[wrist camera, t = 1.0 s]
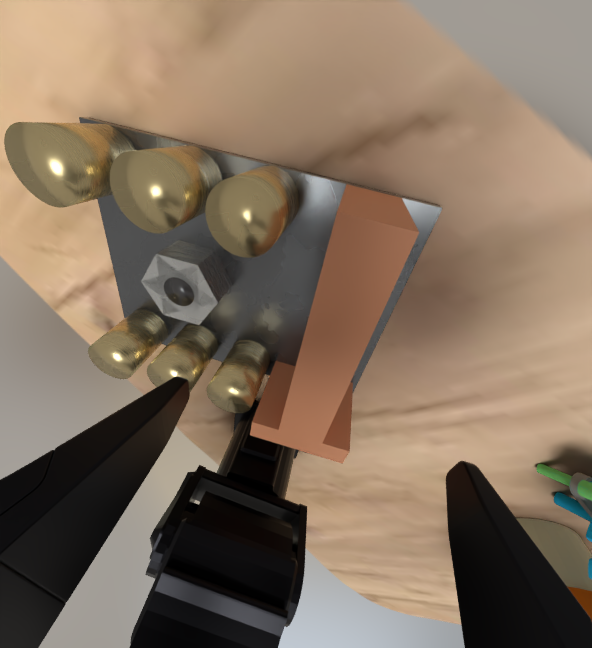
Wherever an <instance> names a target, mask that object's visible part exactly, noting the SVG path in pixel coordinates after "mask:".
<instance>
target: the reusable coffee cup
mask: <svg viewBox="0 0 592 648" xmlns="http://www.w3.org/2000/svg"><path fill="white" fill-rule="evenodd" d="M516 519H517V520H518V522H519V523H520V524H521V526H522V527H523V528H524V530H525V531H526V532H527V534H528V535H529V536H530V538H531V539H532V540H533V542H534V543H535V544H536V546H537V547H538V548H539V550H540V551H541V552H542V554H543V555H544V556H545V558H546V559H547V560H548V562H549V563H550V564H551V566H552V567H553V568H554V570H555V571H556V572H557V574H558V575H559V576H560V578H561V579H562V580H563V582H564V583H565V584H566V586H567V587H568V588H569V590H570V591H571V592H572V594H573V595H574V596H575V598H576V599H577V600H578V602H579V603H580V604H581V606H582V607H583V608H584V610H585V611H586V612H587V614H588V615H589V616H590V618H591V621H592V579H590V578H589V575H588V563H589V559H590V558H592V554H591V553H590V551H589V550H588V548H587V547H586V545H585V544H584V542H583V541H582V539H581V538H580V536H579V535H578V534H577V533H576V532H575V531H573V530H572V529H570V528H568V527H566V526H563V525H561V524H558V523H554V522H550V521H545V520H540V519H531V518H516Z"/></svg>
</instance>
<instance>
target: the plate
mask: <svg viewBox="0 0 592 648" xmlns="http://www.w3.org/2000/svg"><path fill="white" fill-rule="evenodd" d="M79 119H80V123H32V122H18V123H14V124H12V125H11V126H10V127H9V128H8V129H7V131H6V134H5V139H4V144H5V150H6V154H7V157H8V160H9V163H10V165H11V167H12V169H13V171H14V172H15V174H16V176H17V177H18V178H19V180H20V181H21V182H22V184H23V185H24V186H25V187H26V188H27V189H28V190H29V191H30V192H31V193H32V194H33V195H34V196H36V197H37V198H38V199H40V200H41V201H43V202H45V203H47V204H49V205H51V206H54V207H67V206H71V205H75V204H79V203H83V202H86V201H90V200H94V199H98V203H99V207H100V212H101V216H102V220H103V225H104V229H105V234H106V238H107V242H108V247H109V251H110V255H111V260H112V264H113V269H114V273H115V277H116V282H117V286H118V291H119V295H120V299H121V304H122V308H123V313H124V317H125V319H124V320H122V321H121V322H120V323H119V324H117V325H116V326H115V327H114V328H112V329H111V330H110V331H109V332H107V333H106V334H105V335H103V336H102V337H101V338H100V339H98V340H97V341H96V342H95V343H93V344H92V345H91V346H90V347H89V349H88V354H89V357H90V359H91V360H92V362H93V363H94V364H95V365H96V366H97V367H98V368H99V369H100V370H101V371H103V372H104V373H106V374H108V375H110V376H112V377H115V378H120V379H127V378H129V377H131V376H132V375H133V373H134V372H135V371H136V370H137V369H138V368H139V367H140V366H141V365H142V364H143V363H144V362H145V361H146V360H147V359H148V358H149V357H150V356H151V354H152V353H153V352H154V351H155V350H156V349H157V348H158V347H159V346H160V345H161V344H164V345H167V346H166V347H165V348H164V349H163V350H162V352H161V353H160V354H159V355H158V356H157V357H156V358H155V359H154V360H153V361H152V362H151V364H150V365H149V366H148V368H147V374H148V377H149V379H150V380H151V381H152V383H153V384H154V385H155V386H157V387H158V386H160V385H162V384H163V383H165V382H167V381H168V380H170V379H172V378H173V377H177V376H178V377H182V378H185V379H187V380H188V381H189V393H190V391H191V390H192V388H193V387H194V385H195V384H196V382H197V381H198V379H199V378H200V376H201V375H202V373H203V372H204V370H205V369H206V367H207V366H208V364H209V363H210V361H211V360H212V359H215V360H218V361H222V364H221V366H220V367H219V369H218V371H217V372H216V374H215V375H214V377H213V379H212V380H211V382H210V384H209V385H208V387H207V395H208V397H209V399H210V400H211V401H212V402H213V403H214V404H215V405H216V406H218V407H219V408H221V409H223V410H225V411H228V412H231V413H244V412H247V411H248V410H250V409H251V407H252V405H253V402H254V400H255V398H256V395H257V393H258V390H259V388H260V385H261V383H262V381H263V378H264V376H265V374H266V375H270V374H271V372H272V369H273V367H274V364H275V362H276V361H278V362H282V363H285V364H289V365H292V366H296V363H297V359H298V356H299V352H300V348H301V344H302V341H303V337H304V333H305V330H306V326H307V322H308V318H309V315H310V311H311V307H312V303H313V300H314V296H315V292H316V289H317V285H318V281H319V277H320V274H321V270H322V266H323V262H324V259H325V255H326V251H327V248H328V244H329V240H330V236H331V233H332V229H333V225H334V222H335V218H336V214H337V211H338V208H339V205H340V202H341V199H342V196H343V193H344V190H345V188H346V185H347V184H348V185H352V186H356V187H360V188H364V189H368V190H372V191H376V192H380V193H384V194H388V195H392V196H396V197H400V198H402V200H403V202H404V204H405V205H406V207H407V209H408V211H409V213H410V215H411V217H412V219H413V221H414V223H415V225H416V227H417V229H418V231H419V234H418V237H417V239H416V241H415V243H414V245H413V247H412V250H411V252H410V254H409V256H408V258H407V260H406V263H405V265H404V267H403V269H402V271H401V273H400V276H399V278H398V280H397V282H396V284H395V286H394V289H393V291H392V293H391V295H390V297H389V299H388V302H387V304H386V306H385V308H384V310H383V312H382V315H381V317H380V319H379V321H378V323H377V325H376V328H375V330H374V332H373V334H372V336H371V338H370V341H369V343H368V345H367V347H366V349H365V352H364V354H363V356H362V358H361V360H360V362H359V365H358V367H357V369H356V371H355V373H354V375H353V378H352V380H351V383H353V391H354V389H355V387H356V385H357V383H358V381H359V379H360V377H361V375H362V373H363V371H364V369H365V367H366V365H367V363H368V361H369V359H370V357H371V354H372V352H373V350H374V348H375V346H376V344H377V342H378V340H379V338H380V336H381V334H382V332H383V330H384V328H385V326H386V324H387V322H388V319H389V317H390V315H391V313H392V311H393V309H394V307H395V305H396V303H397V301H398V299H399V297H400V295H401V293H402V291H403V289H404V287H405V284H406V282H407V280H408V278H409V276H410V274H411V272H412V270H413V268H414V266H415V264H416V262H417V260H418V258H419V256H420V254H421V252H422V249H423V247H424V245H425V243H426V241H427V239H428V237H429V235H430V233H431V231H432V229H433V227H434V225H435V223H436V221H437V219H438V217H439V214H440V212H441V210H442V207H441V206H440V205H437V204H433V203H429V202H425V201H421V200H417V199H413V198H409V197H405V196H401V195H397V194H393V193H389V192H385V191H381V190H377V189H373V188H369V187H365V186H361V185H357V184H353V183H349V182H345V181H341V180H337V179H333V178H329V177H325V176H321V175H317V174H313V173H309V172H305V171H301V170H297V169H293V168H289V167H285V166H281V165H277V164H273V163H269V162H265V161H261V160H257V159H253V158H248V157H244V156H240V155H236V154H232V153H228V152H224V151H220V150H216V149H212V148H208V147H204V146H200V145H196V144H192V143H188V142H184V141H180V140H176V139H172V138H168V137H164V136H160V135H156V134H152V133H148V132H144V131H140V130H136V129H132V128H128V127H124V126H120V125H116V124H112V123H108V122H104V121H100V120H96V119H92V118H85V117H79ZM178 240H179V241H183V242H187V243H190V244H194V245H198V246H201V247H205V248H209V249H213V250H216V252H217V254H218V256H219V258H220V260H221V262H222V264H223V266H224V268H225V270H226V272H227V274H228V276H229V278H230V280H231V282H232V284H233V286H232V287H231V288H230V289H229V290H228V292H227V293H226V294H225V295H224V296H223V297H222V299H221V300H220V301H219V302H218V303H217V305H216V306H215V307H214V308H213V309H212V311H211V312H210V313H209V314H208V315H207V316H206V318H205V319H204V320H203V321H202V322H201V324H200V325H197V324H193V323H190V322H186V321H183V320H179V319H176V318H172V317H169V316H165V315H163V314H162V312H161V311H160V309H159V308H158V306H157V305H156V303H155V302H154V300H153V299H152V297H151V296H150V294H149V293H148V291H147V290H146V288H145V287H144V285H143V284H142V282H141V280H142V279H143V277H144V275H145V273H146V271H147V269H148V268H149V266H150V264H151V262H152V260H153V258H154V257H155V255H156V254H157V253H158V252H160V251H162V250H163V249H165V248H167V247H168V246H170V245H172V244H173V243H175V242H177V241H178ZM352 394H353V393H352Z"/></svg>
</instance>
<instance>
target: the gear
mask: <svg viewBox="0 0 592 648" xmlns="http://www.w3.org/2000/svg"><path fill="white" fill-rule="evenodd" d="M537 472H538V473H540V474H543V475H545V476H547V477H549V478H552V479H554V480H556V481H558V482H561V483H563V484H565V485H567V486H570V491H571V493H572V495H573V496H574V497H575V498H576V499H577V500H575V499H573V498H571V497H569V496H567V495H565V494H562V493H560V492H557V493H556V494H555V496H554V502H555V504H557V505H559V506H561V507H563V508H565V509H567V510H568V511H570V512H572V513H574V514H576V515H578V516H580V517H582V518H584V519H586V520H588V521H590V522H591V523H590V525H589V527H588V530H587V534H586V538H587V539H588V540H589V541H591V542H592V477H590V476H587V475H585V474H582V473H575V474H574V475H573V476H570V475H568V474H565V473H563V472H560V471H558V470H556V469H553V468H551V467H548V466H546V465H543V464H538V466H537ZM588 575H589V578H590V579H592V558H590V559H589V563H588Z"/></svg>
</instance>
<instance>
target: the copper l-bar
mask: <svg viewBox="0 0 592 648" xmlns="http://www.w3.org/2000/svg"><path fill="white" fill-rule="evenodd" d="M418 234H419V231H418V229H417V227H416V225H415V223H414V221H413V219H412V217H411V215H410V213H409V211H408V209H407V207H406V205H405V204H404V202H403V200H402V198H400V197H396V196H392V195H388V194H384V193H380V192H376V191H372V190H368V189H364V188H360V187H356V186H352V185H348V184H347V185H346V188H345V190H344V193H343V196H342V199H341V202H340V205H339V208H338V211H337V214H336V218H335V222H334V225H333V229H332V233H331V236H330V240H329V244H328V248H327V251H326V255H325V259H324V262H323V266H322V270H321V274H320V277H319V281H318V285H317V289H316V292H315V296H314V300H313V303H312V307H311V311H310V315H309V318H308V322H307V326H306V330H305V333H304V337H303V341H302V344H301V348H300V352H299V356H298V359H297V363H296V366H292V365H289V364H285V363H282V362H278V361H276V362H275V364H274V367H273V369H272V372H271V374H270V377H269V380H268V382H267V385H266V387H265V390H264V392H263V395H262V398H261V400H260V403H259V405H258V408H257V410H256V413H255V416H254V418H253V421H252V425H251V431H250V435H251V436H254V437H257V438H261V439H264V440H267V441H271V442H274V443H277V444H280V445H284V446H287V447H290V448H293V449H297V450H300V451H303V452H307V453H310V454H313V455H316V456H320V457H323V458H326V459H330V460H333V461H336V462H339V463H343V462H344V460H345V458H346V457H347V455H348V453H349V451H350V432H351V412H352V393H353V383H351V380H352V378H353V375H354V373H355V371H356V369H357V367H358V365H359V362H360V360H361V358H362V356H363V354H364V352H365V349H366V347H367V345H368V343H369V341H370V338H371V336H372V334H373V332H374V330H375V328H376V325H377V323H378V321H379V319H380V317H381V315H382V312H383V310H384V308H385V306H386V304H387V302H388V299H389V297H390V295H391V293H392V291H393V289H394V286H395V284H396V282H397V280H398V278H399V276H400V273H401V271H402V269H403V267H404V265H405V263H406V260H407V258H408V256H409V254H410V252H411V250H412V247H413V245H414V243H415V241H416V239H417V237H418Z"/></svg>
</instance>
